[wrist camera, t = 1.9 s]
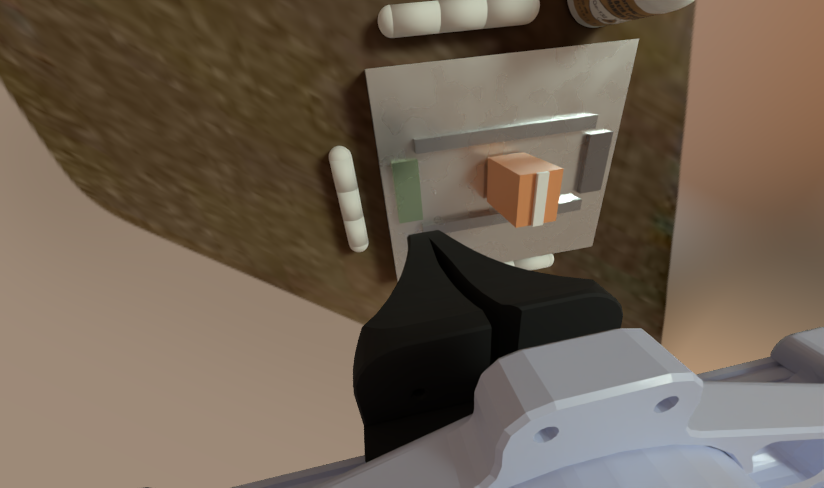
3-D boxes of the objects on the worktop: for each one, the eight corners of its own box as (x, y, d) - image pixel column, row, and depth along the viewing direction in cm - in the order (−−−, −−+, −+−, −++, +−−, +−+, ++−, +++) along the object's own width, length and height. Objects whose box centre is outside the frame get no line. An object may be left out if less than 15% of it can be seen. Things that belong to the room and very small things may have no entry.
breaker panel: (580, 237, 26) (597, 249, 24) (395, 271, 24) (399, 287, 22) (619, 41, 19) (647, 37, 17) (364, 70, 17) (365, 68, 15)
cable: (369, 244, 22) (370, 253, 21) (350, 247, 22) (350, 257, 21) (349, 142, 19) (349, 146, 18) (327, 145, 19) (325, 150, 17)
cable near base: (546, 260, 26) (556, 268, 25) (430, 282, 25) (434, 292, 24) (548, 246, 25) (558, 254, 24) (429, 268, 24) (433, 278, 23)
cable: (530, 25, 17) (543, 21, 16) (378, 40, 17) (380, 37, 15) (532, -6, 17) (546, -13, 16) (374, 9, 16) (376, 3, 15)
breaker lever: (519, 196, 21) (558, 222, 17) (486, 201, 20) (517, 229, 17) (523, 151, 19) (566, 169, 15) (487, 157, 19) (521, 176, 15)
